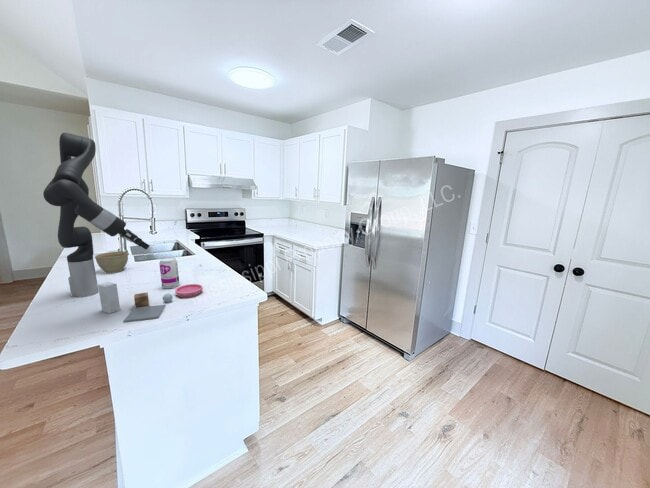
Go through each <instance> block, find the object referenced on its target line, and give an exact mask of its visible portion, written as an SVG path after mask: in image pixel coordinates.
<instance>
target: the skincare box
mask: <svg viewBox="0 0 650 488" xmlns="http://www.w3.org/2000/svg"><path fill="white" fill-rule="evenodd" d="M97 284H98V283H97ZM118 291H119V290H118V285H117V283H114V282H111V281H106V282H103V283H99V284H98V293H99V300H100V301H99V302H100V307H101V311H102V312H105V313H108V314H112V313H115V312H118V311H120V310H121V305H120V298H119V293H118Z"/></svg>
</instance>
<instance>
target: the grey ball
mask: <svg viewBox="0 0 650 488" xmlns="http://www.w3.org/2000/svg"><path fill="white" fill-rule="evenodd" d="M173 297H174V296H173V295H172V294H171V293H165V294H164V295H163V296H162V301H163V302H164V303H170V302H172V300H173Z"/></svg>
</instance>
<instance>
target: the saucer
mask: <svg viewBox="0 0 650 488" xmlns="http://www.w3.org/2000/svg"><path fill="white" fill-rule="evenodd" d="M203 288H204V287H203V285H201V284H198V283H188V284H182V285H179V286H177V287H175V290H174V292H175V294H176V295H177V296H179V297H180V298H192V297H195V296H198V295H199V294H200V293H202V291H203Z"/></svg>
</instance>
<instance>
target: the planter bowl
mask: <svg viewBox="0 0 650 488" xmlns="http://www.w3.org/2000/svg"><path fill="white" fill-rule="evenodd" d="M94 258H95V262H96V264H97V266H98V267H99V268H100V269H101V270H102V271H104V273H105V272H106V274H113V273H114V272H115V273H119V272H122V271H124V269H125V267H126V266H127V263H128V259H129V252H127V251H110V252H105V253H100V254H97V255H94Z"/></svg>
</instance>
